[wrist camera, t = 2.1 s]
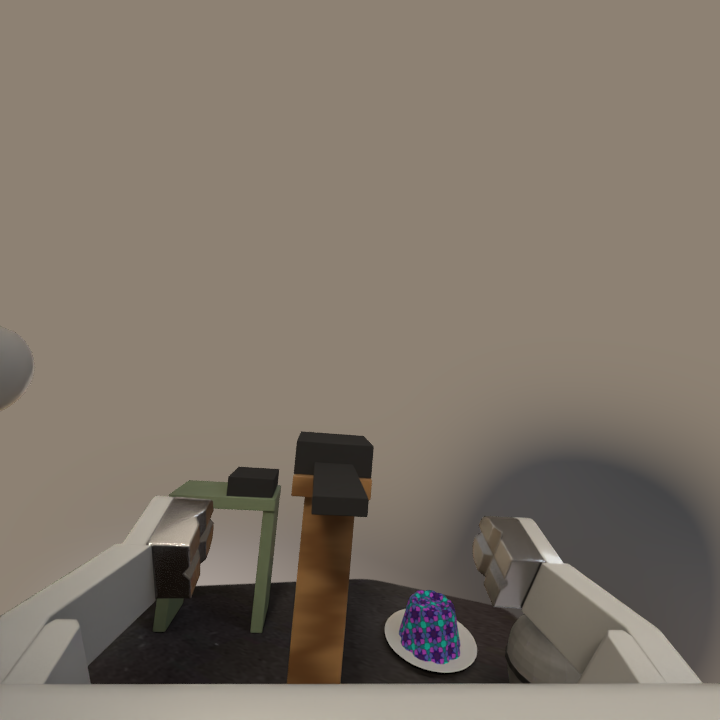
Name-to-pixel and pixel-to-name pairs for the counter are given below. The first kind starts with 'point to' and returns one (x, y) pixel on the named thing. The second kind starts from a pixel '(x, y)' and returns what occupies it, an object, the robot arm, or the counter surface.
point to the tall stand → (320, 591)
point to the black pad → (335, 471)
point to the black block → (253, 482)
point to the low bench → (269, 506)
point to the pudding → (431, 634)
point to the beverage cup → (536, 657)
